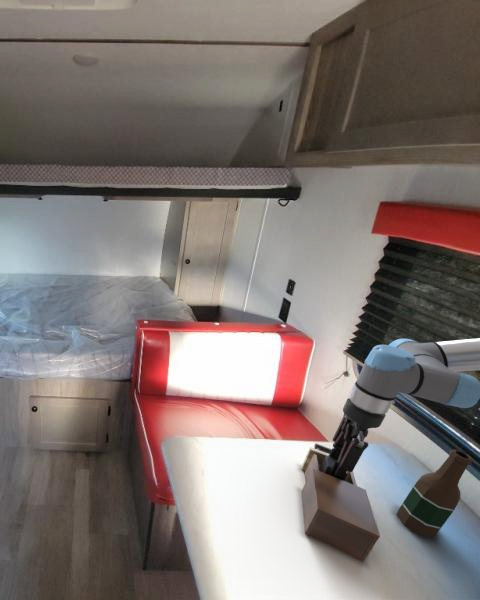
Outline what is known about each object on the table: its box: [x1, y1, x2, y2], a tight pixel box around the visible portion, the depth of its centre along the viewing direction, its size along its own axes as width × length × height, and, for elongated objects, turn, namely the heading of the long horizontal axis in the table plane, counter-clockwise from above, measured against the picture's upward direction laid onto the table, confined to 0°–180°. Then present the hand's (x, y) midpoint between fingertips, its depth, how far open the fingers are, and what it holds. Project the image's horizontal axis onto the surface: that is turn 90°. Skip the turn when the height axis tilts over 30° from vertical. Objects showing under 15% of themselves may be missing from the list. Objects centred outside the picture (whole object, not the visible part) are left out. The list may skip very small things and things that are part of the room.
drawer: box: [301, 443, 358, 486], centre depth 92 cm, size 17×10×8 cm, turn 151°
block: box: [320, 455, 348, 481], centre depth 89 cm, size 4×4×4 cm
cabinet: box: [300, 468, 381, 563], centre depth 81 cm, size 13×11×9 cm
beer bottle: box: [395, 448, 473, 540], centre depth 80 cm, size 8×8×24 cm
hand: (331, 475), depth 89 cm, fingers closed on block, 4 cm apart
